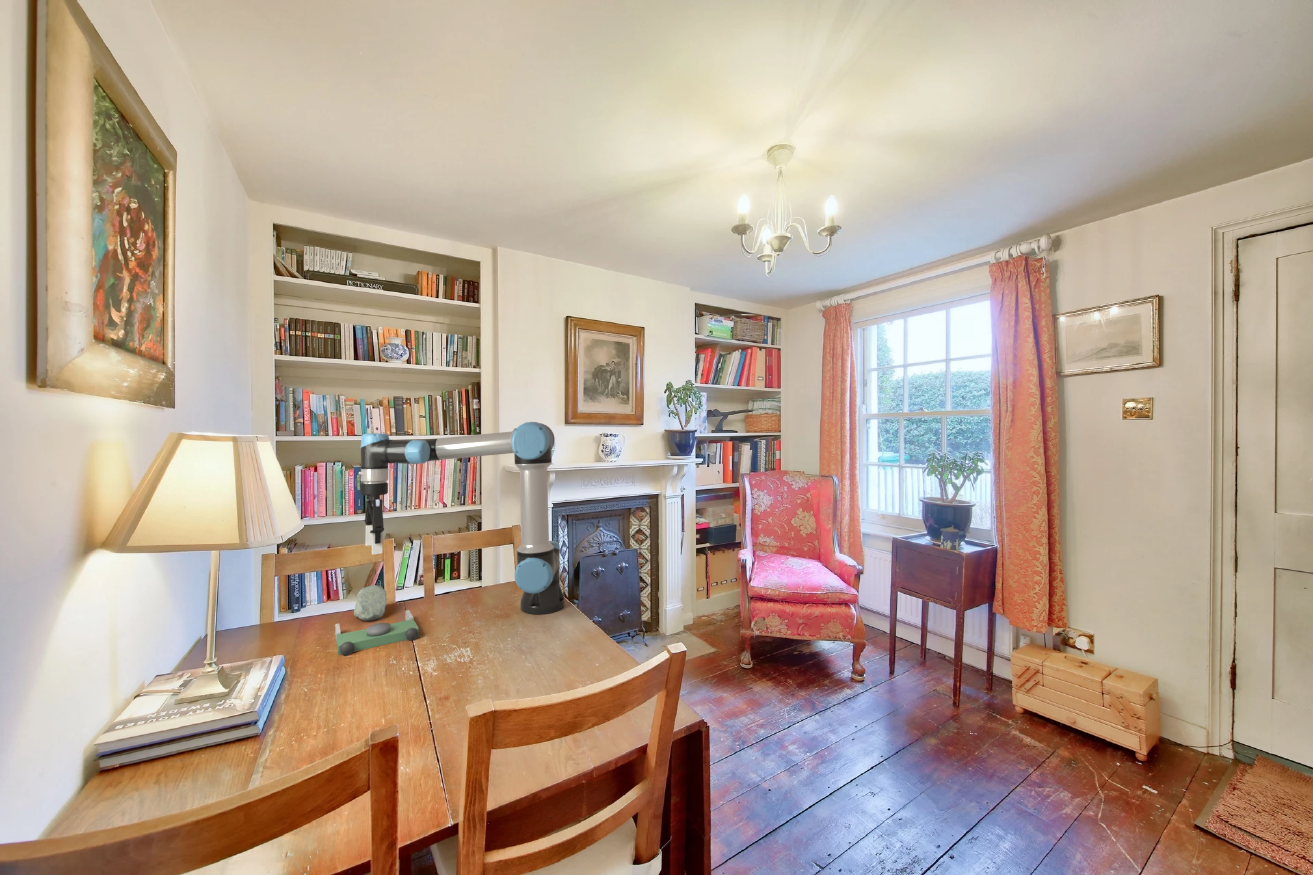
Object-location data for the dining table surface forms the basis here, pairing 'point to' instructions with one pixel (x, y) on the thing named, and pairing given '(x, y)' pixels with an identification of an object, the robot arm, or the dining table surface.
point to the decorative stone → (370, 603)
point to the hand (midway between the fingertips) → (373, 549)
